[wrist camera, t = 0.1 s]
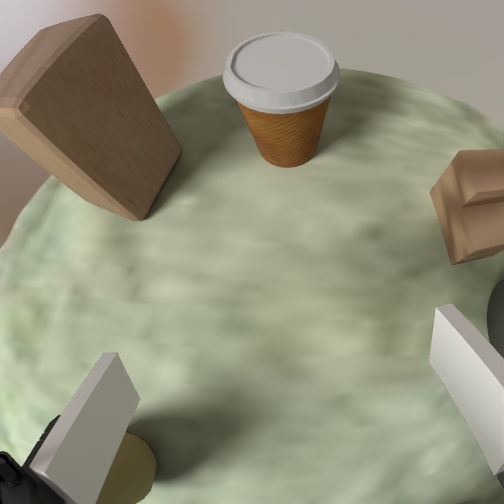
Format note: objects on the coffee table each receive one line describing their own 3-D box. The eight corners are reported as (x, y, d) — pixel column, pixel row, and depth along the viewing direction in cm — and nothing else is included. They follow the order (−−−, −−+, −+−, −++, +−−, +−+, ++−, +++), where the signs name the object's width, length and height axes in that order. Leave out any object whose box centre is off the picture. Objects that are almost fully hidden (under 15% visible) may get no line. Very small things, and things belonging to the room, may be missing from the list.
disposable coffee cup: (345, 167, 30) (362, 83, 19) (256, 192, 31) (234, 112, 19) (312, 104, 33) (312, 22, 22) (234, 125, 34) (210, 44, 22)
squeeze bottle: (128, 407, 26) (-18, 438, 9) (184, 467, 24) (71, 560, 7) (88, 445, 25) (-41, 480, 8) (137, 500, 23) (28, 574, 6)
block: (187, 150, 34) (108, 6, 15) (144, 227, 32) (12, 109, 13) (125, 136, 36) (42, 25, 17) (85, 202, 34) (-29, 108, 15)
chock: (492, 255, 25) (536, 229, 18) (451, 265, 26) (492, 239, 18) (470, 187, 28) (504, 149, 20) (429, 192, 28) (459, 150, 21)
